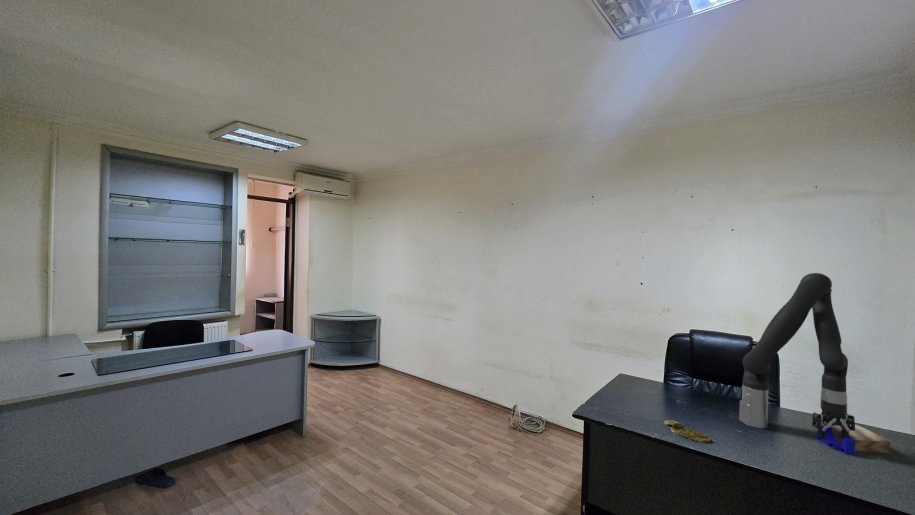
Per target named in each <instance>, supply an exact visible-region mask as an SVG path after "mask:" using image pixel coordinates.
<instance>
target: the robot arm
mask: <svg viewBox="0 0 915 515" xmlns="http://www.w3.org/2000/svg"><path fill="white" fill-rule="evenodd" d="M832 287H833V281H832V280H831V278H830V277H828V275H825V274H823V273H820V272H813V273H812V272H811V273H808V274H806V275H804V276H803V277H802V278H801V280H800V282H799V283H798V286H797V287H796V289H795V291H794V293H793V294H792V296H791V297H790V298H789V299H788V301H787V302H786V303H785V304H784V305H782V307H781V308H780V309H779V310H778V311H777V312H776V313H775V315H774V316H773V317H772V319H771V320H770V322H768V324H767V326H766V328H765V329H764V331H763V332H762V335H761V337H760V339H759V340H758V342H757V343H756V345H755V346H754V347H753V348H752V349H751V350H750V351H749V352H747V353H746V354H745V355H744V356H743V359H742V366H743V377H742V390H741V391H742V392H741V400H739V410H738V411H739V412H738V413H739V415H738V416H739V417H738V420H739V421H740V422H741V423H743V424H744V425H745V426H747V427H752V428H757V429H767V427H768V416H769V415H768V411H769V408H768V407H769V388H770V387H769V385H770V377H771V376H770V374H771V373H770V372H771V363H772V362H773V360H774V358H775V356H776V355H777V354H778V353H779V351H780V350H781V349H782V348H784V347H785V346H786V345H787V344H788V343H789V341H791V340H792V338H793V337H794V336H795V335H796V333H797V332H798V331H799V330H800V328H801V327H802V326H803V324H804V323H805V320H806V318H808V315H809V313H810V311H811V310H812V317H813V318H812V319H813V326H814V330H815V335H816V339H817V342H818V356H819V360H820V363H821V365H822V366H823V373H822V376H821V388H820V409H821V413H818V412H813V413H812V420H811V422H812V424H811V426H812V427H814V428H816V429H817V432H818V437H819V438H820V439H822V440H825V437H826V431H825V430H826V429H827V428H828V427H830V426H831V425H832V426H834V425H837V426H840V427H841V428H842V430H841V439H843V438H849V432H850V431H851V430H853V431H855V425H856V423H855V421H856V420H855V419H856V417H855V416H854V415H852V414H849V413H848V395H847V373H848V366H849V361H848V360H849V359H848V357H847V356H846V354H844V353H843V351H842V347H841V345H842V337H841V333H840V329H839V324H838V321H837V318H836V314H835V312H834V307H833V302H832ZM850 425H851V426H850ZM822 426H823V427H822Z"/></svg>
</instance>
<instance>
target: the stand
mask: <svg viewBox="0 0 915 515" xmlns="http://www.w3.org/2000/svg"><path fill="white" fill-rule="evenodd" d="M850 426H851V425H850ZM830 427H831V428H832V432H833V435H834V437H835V439H836V440H837V441H838V442H839V443H841V442H842V439H841V430H842V428H841V427H840V426H837V425H834V426H832V425H831V426H830ZM849 438H850V439H853V440H855V451H854V452H856V451H857V452H868V453H884V454H890V453H891V440H890V439H888V438H887V437H884V436H881V435H880V434H878V433H875V432H873V431H871V430H869V429H867V428H865V427H862V426H860V425H858V424H855V431H853V430H851V431H850V432H849Z"/></svg>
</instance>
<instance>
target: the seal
mask: <svg viewBox="0 0 915 515" xmlns="http://www.w3.org/2000/svg"><path fill="white" fill-rule="evenodd" d="M670 430H671V432H672V433H673V432H674V433H675V434H674V433H673V434H674V435H676V434H677V435H679V436H681V437H683V438H682V439H684V438H686V439H685V440H687V439H689V440H688V441H690V440H691V442H694V441H696V442H695V443H698V442H702V443H701V444H711V443H713V439H712V438H711V437H709V436H708V435H705V434H703V432H701V431H696V430H694V429H691V428H687V427H685V426H684V425H683V424H682V423H681V422H673V423H672V426H671V427H670ZM677 435H676V436H677ZM679 436H678V437H679ZM681 437H680V438H681Z"/></svg>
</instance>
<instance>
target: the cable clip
mask: <svg viewBox="0 0 915 515" xmlns="http://www.w3.org/2000/svg"><path fill="white" fill-rule="evenodd" d="M823 426H824V425H823ZM823 426H822V427H823ZM825 431H826V437H825V440H822V439H820V438H819V437H818V431H816V437H815V438H816V440H818V441H820V442H821V443H823V444H825V445H826V446H827V447H833V448H835V449H836V450H837V451H839V452H841V453H842V454H844V455H849V456H855V452H856V451H855V440H853V439H850V438H843V439H842V442H841V443H839V442H838V441H837V440H836V439H835V437H834V435H833V432H832V428H831V427H828V428H827V429H826V430H825Z"/></svg>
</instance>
